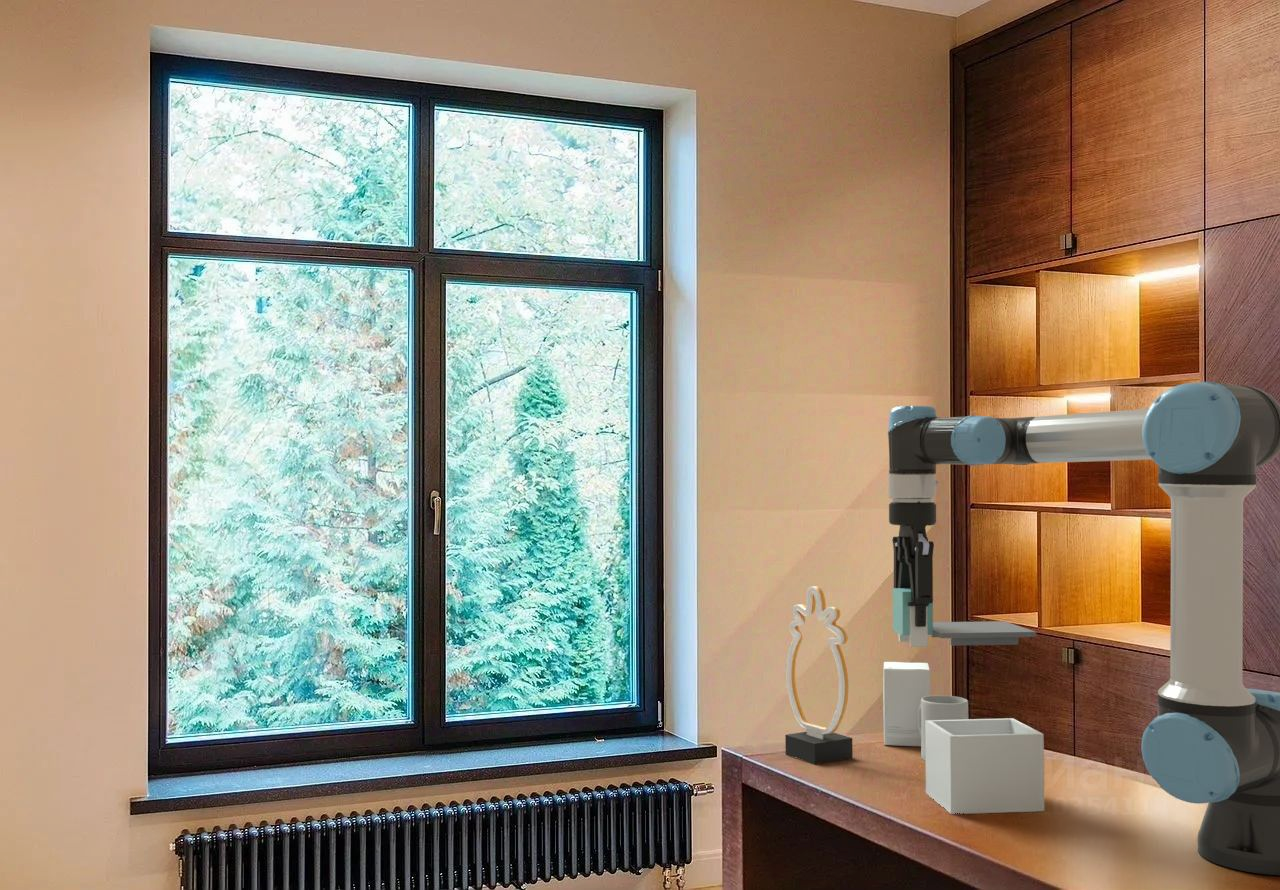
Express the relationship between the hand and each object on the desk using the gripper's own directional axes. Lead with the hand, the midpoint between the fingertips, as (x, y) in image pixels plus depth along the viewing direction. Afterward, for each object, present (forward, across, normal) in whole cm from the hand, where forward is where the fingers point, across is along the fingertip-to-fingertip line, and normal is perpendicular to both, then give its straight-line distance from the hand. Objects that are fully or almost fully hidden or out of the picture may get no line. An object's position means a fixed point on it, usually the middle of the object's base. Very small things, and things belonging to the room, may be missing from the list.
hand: (912, 643), depth 198 cm
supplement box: (+26, +40, -12) cm, 49 cm away
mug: (+26, +27, -14) cm, 40 cm away
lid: (0, 0, -8) cm, 8 cm away
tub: (+25, -3, -11) cm, 27 cm away
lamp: (+26, +30, +8) cm, 40 cm away
